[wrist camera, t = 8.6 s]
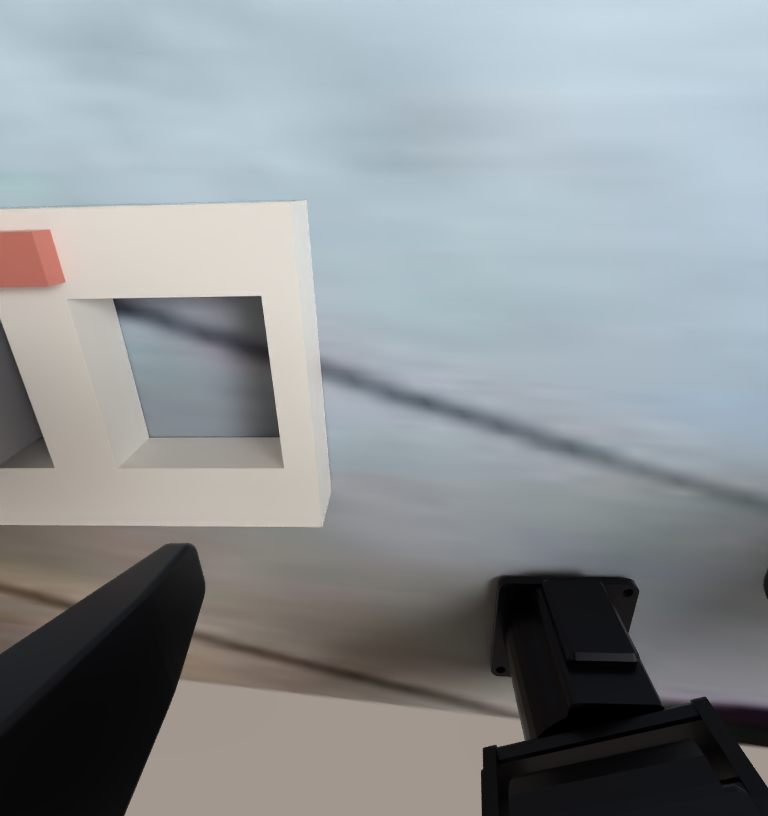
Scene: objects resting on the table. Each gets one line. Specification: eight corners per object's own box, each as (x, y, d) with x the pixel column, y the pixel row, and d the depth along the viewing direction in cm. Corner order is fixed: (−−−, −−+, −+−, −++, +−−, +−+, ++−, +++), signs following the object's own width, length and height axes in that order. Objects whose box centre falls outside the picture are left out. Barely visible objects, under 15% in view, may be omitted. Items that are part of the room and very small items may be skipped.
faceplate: (331, 491, 21) (319, 540, 18) (-51, 490, 22) (-122, 536, 19) (306, 200, 16) (284, 202, 13) (-185, 213, 17) (-310, 217, 14)
